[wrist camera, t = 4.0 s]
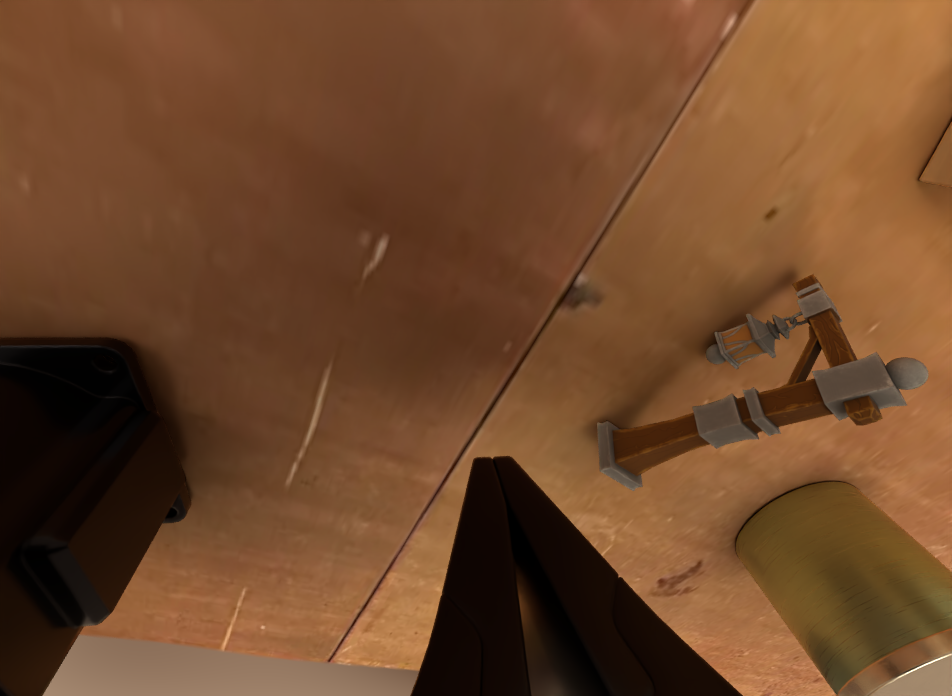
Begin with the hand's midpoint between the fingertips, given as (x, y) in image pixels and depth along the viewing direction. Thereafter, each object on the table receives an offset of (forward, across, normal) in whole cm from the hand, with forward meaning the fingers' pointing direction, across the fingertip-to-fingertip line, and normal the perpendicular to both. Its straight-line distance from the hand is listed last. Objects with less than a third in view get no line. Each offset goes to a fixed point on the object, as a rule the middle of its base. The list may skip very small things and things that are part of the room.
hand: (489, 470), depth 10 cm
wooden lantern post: (+4, -7, 0) cm, 8 cm away
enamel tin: (+4, -16, +9) cm, 19 cm away
